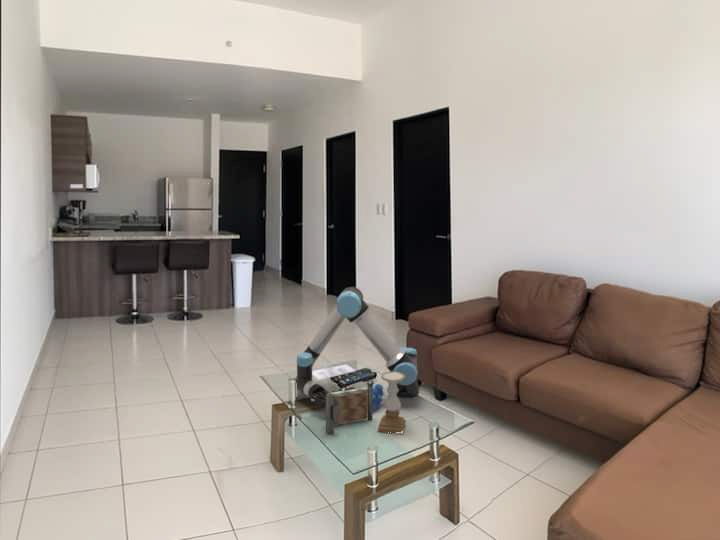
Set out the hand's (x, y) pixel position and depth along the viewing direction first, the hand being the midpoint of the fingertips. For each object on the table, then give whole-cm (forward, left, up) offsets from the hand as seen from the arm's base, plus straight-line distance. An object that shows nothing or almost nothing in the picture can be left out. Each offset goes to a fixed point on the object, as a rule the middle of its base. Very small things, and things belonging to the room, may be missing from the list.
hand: (342, 408), depth 232 cm
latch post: (+8, +5, -7) cm, 12 cm away
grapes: (-21, -4, -7) cm, 23 cm away
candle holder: (-15, +16, -7) cm, 24 cm away
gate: (-2, +2, -6) cm, 6 cm away
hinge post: (-12, +4, -7) cm, 15 cm away
